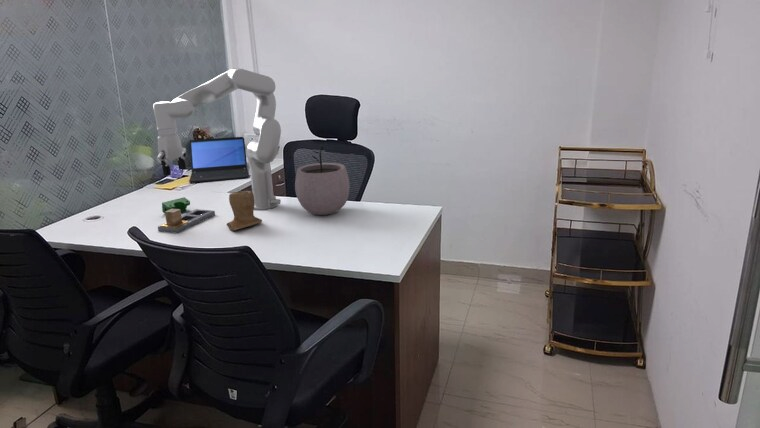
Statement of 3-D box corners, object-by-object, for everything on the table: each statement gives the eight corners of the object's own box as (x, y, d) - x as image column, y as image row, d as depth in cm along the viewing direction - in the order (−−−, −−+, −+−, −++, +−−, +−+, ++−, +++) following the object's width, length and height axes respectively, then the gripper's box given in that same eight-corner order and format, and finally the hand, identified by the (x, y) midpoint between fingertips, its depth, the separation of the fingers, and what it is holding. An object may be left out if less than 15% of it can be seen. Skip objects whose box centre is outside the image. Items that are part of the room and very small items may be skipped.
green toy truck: (173, 224, 249) (165, 210, 242) (166, 218, 252) (158, 204, 246) (194, 209, 254) (187, 195, 248) (188, 204, 258) (180, 190, 251)
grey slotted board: (215, 214, 245) (214, 210, 244) (177, 232, 223) (176, 227, 222) (197, 213, 248) (196, 208, 248) (158, 230, 226) (157, 225, 225)
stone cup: (249, 219, 237) (246, 186, 233) (266, 224, 229) (262, 190, 225) (219, 228, 227) (215, 193, 222) (235, 233, 219) (231, 198, 214)
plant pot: (313, 203, 256) (308, 141, 247) (359, 207, 248) (356, 142, 239) (287, 219, 235) (281, 151, 226) (337, 223, 227) (332, 153, 218)
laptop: (188, 184, 304) (183, 150, 298) (193, 170, 339) (189, 140, 333) (249, 179, 312) (245, 145, 306) (247, 166, 346) (244, 136, 341)
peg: (183, 227, 230) (180, 209, 227) (176, 230, 226) (173, 212, 223) (174, 226, 231) (171, 208, 229) (167, 229, 227) (164, 211, 225)
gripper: (174, 128, 232) (181, 167, 238) (145, 136, 217) (153, 177, 222) (188, 128, 230) (195, 167, 235) (160, 136, 214) (168, 177, 220)
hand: (175, 172), depth 229 cm, fingers open, 9 cm apart
